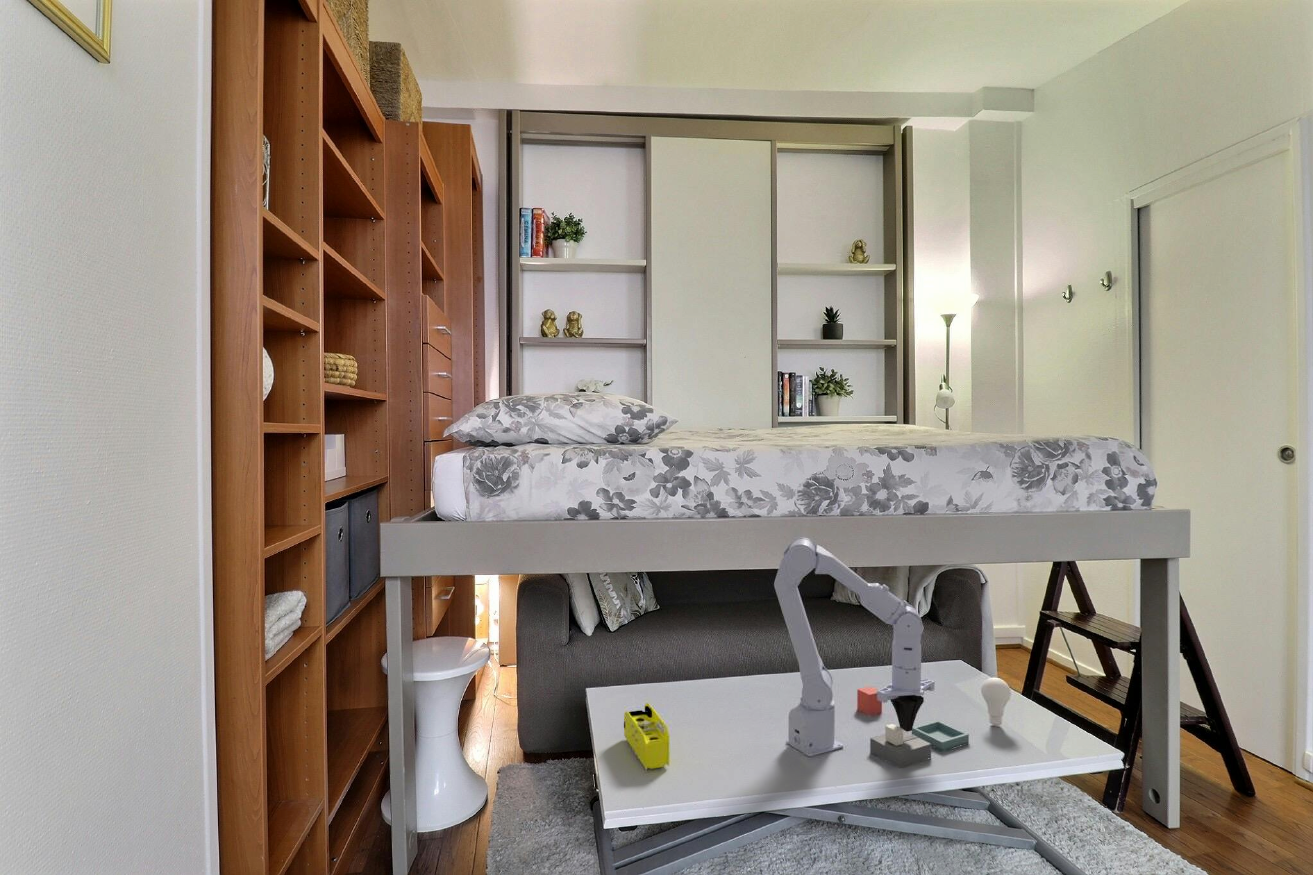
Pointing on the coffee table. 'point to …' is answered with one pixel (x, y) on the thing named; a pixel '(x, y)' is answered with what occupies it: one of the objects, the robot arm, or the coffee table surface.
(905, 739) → the grey flat block
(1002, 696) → the lightbulb
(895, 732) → the switch
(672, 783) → the coffee table surface
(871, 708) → the block
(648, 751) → the yellow parts caddy
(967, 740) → the tray
